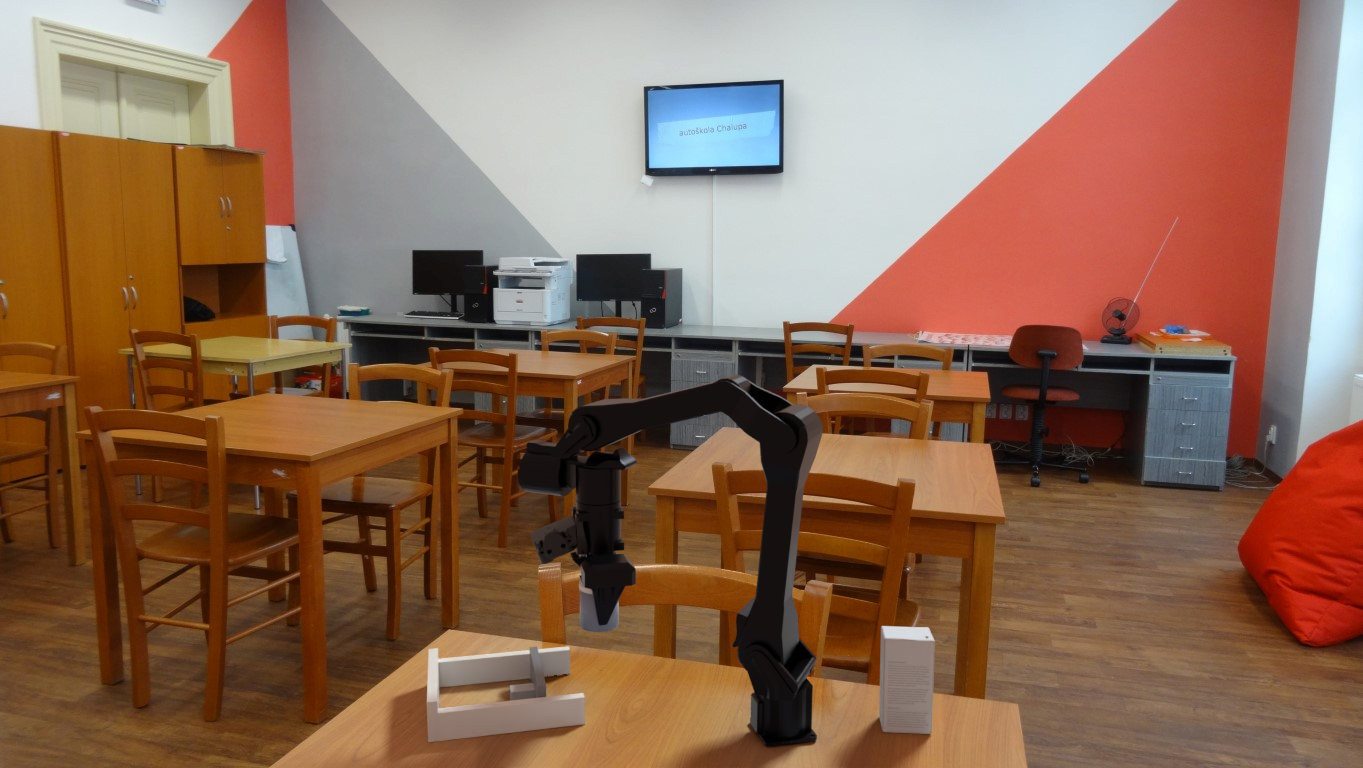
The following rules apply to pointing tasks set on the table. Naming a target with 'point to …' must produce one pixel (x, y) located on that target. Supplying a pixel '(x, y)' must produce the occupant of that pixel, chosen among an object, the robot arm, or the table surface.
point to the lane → (498, 714)
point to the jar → (594, 613)
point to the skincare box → (906, 679)
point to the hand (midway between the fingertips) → (599, 616)
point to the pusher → (537, 680)
